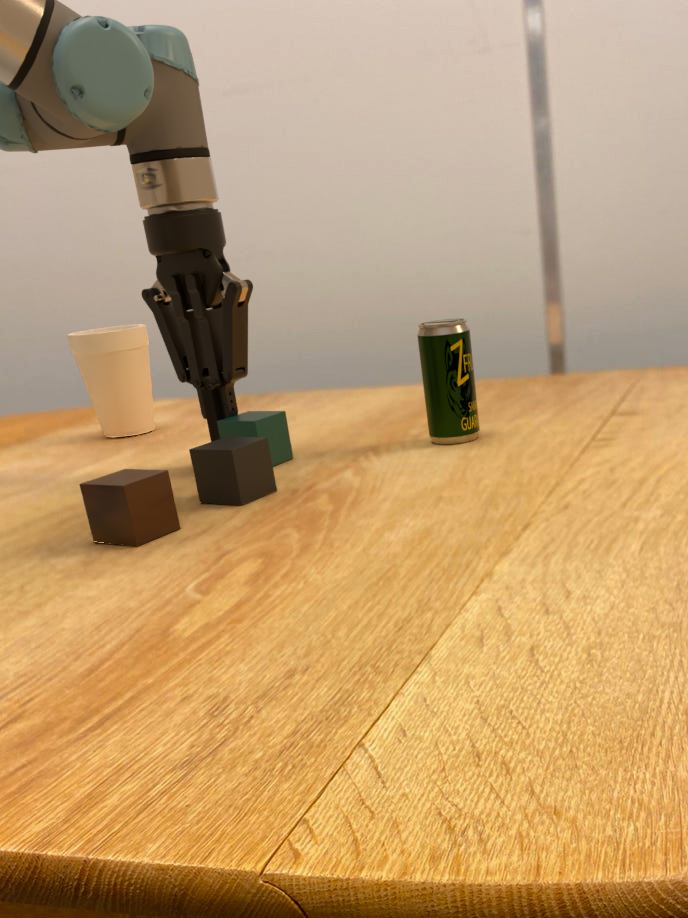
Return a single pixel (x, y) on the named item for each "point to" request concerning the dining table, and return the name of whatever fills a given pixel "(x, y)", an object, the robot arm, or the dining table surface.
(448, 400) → the beer can
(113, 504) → the walnut block
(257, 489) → the charcoal block
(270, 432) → the teal block
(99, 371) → the foam cup
